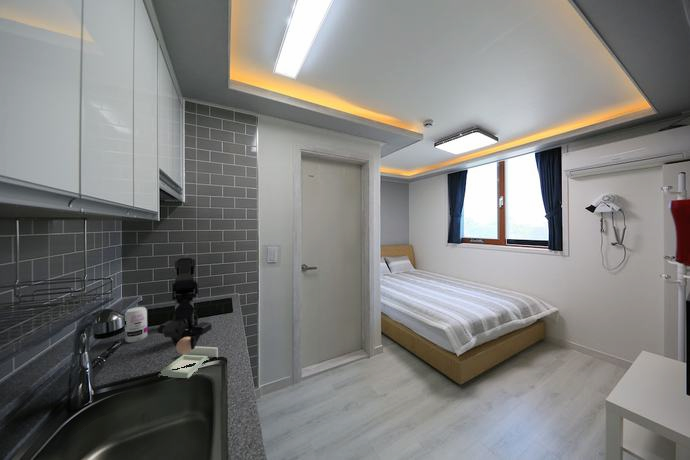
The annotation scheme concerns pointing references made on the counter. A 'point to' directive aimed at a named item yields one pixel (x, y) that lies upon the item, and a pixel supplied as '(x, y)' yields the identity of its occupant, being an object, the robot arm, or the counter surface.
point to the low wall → (203, 351)
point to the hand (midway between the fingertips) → (185, 348)
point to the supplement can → (136, 324)
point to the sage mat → (183, 362)
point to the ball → (184, 345)
